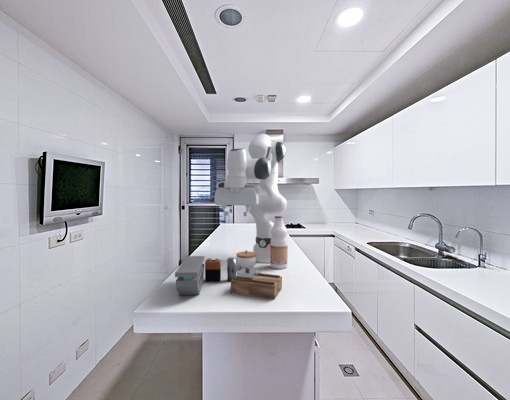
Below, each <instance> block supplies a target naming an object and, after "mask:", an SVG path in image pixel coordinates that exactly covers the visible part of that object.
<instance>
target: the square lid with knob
mask: <svg viewBox="0 0 510 400" xmlns="http://www.w3.org/2000/svg"><path fill="white" fill-rule="evenodd" d="M259 273H260V272H259V269H254V268H251V269H250V268H243V269H241V268H240V270H239V271H236V276H237V278H245V279H253V280H255V279H256V278H257V277H258V276H259Z"/></svg>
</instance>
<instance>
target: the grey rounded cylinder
mask: <svg viewBox="0 0 510 400" xmlns="http://www.w3.org/2000/svg"><path fill="white" fill-rule="evenodd" d="M226 263H227V265H226V266H227V270H226V271H227V275H226V277H227V278H226V279H227V282H229V283H231V280H232V279H233V278H234V277H236V276H237V257H227V262H226Z"/></svg>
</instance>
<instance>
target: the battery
mask: <svg viewBox="0 0 510 400" xmlns="http://www.w3.org/2000/svg"><path fill="white" fill-rule="evenodd" d="M221 276H222V260H221V259H219V258H215V259H213V258H212V257H208V258H207V259H206V260H205V262H204V282H206V283H207V282H208V283H210V282H211V283H215V282H216V283H217V282H218V283H220V282H221V279H222V277H221Z"/></svg>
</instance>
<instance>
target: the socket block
mask: <svg viewBox="0 0 510 400" xmlns="http://www.w3.org/2000/svg"><path fill="white" fill-rule="evenodd" d="M282 289H283V276H281V275H278V274H271V273H261V272H259V276H258V277H257V278H256V279H255V280H253V279H245V278H237V275H236V277H234V278H233V279H232V280H231V282H230V294H235V295H242V296H247V297H254V298H255V297H256V298H261V299H262V298H263V299H269V300H275V299H276V298H277V296H278V295H279V293H280V292H281V291H282Z"/></svg>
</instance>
